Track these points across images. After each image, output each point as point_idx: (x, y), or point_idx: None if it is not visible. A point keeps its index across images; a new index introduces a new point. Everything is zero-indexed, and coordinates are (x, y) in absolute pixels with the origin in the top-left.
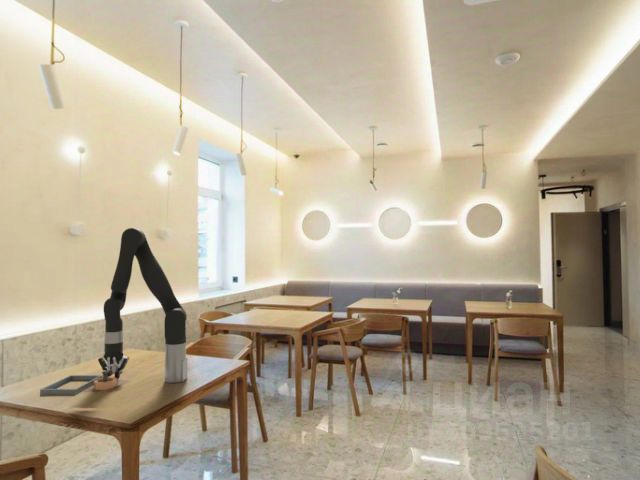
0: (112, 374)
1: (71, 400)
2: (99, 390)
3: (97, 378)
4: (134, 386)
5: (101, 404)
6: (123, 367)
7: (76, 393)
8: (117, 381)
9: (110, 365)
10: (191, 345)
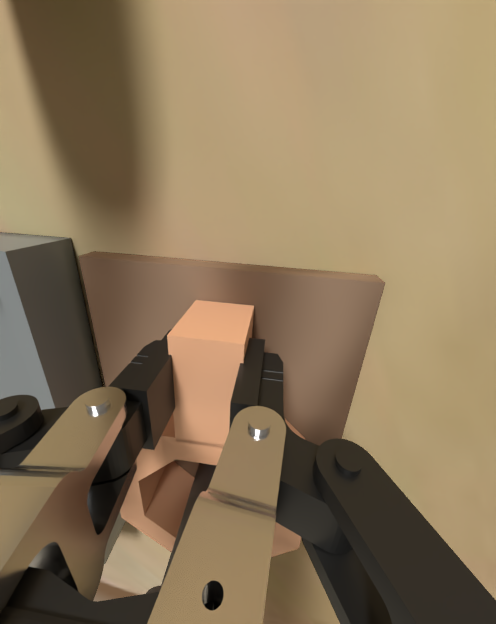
0: (169, 350)
1: (144, 543)
2: None
3: (43, 353)
4: (451, 407)
5: (319, 603)
6: (371, 500)
7: (119, 529)
8: (257, 327)
9: (86, 569)
10: None
